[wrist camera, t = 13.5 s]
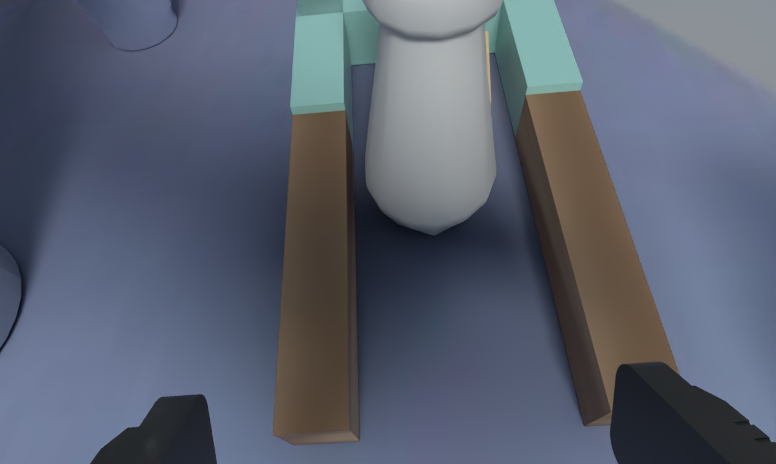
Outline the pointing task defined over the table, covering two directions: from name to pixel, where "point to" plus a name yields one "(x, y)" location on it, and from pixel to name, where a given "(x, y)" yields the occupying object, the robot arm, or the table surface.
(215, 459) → the robot arm
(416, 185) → the salt shaker
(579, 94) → the slot
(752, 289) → the table surface
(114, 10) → the cup with straw
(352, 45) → the teal u-shaped block
